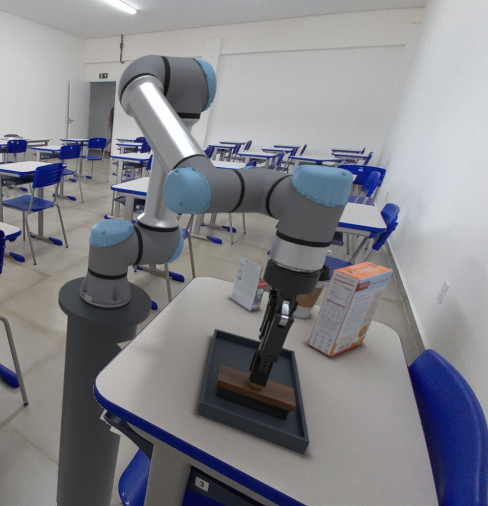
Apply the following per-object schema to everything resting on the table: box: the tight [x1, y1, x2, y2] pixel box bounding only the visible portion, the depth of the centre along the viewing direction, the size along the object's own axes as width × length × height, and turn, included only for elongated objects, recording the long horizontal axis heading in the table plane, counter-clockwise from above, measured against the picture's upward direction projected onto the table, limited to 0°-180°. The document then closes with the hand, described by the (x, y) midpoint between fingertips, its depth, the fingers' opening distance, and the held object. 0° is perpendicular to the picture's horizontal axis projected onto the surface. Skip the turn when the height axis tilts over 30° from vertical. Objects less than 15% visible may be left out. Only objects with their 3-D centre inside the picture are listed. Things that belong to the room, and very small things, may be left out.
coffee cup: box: [292, 264, 331, 319], centre depth 99 cm, size 8×8×15 cm
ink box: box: [230, 254, 267, 312], centre depth 103 cm, size 4×8×15 cm, turn 21°
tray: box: [197, 328, 310, 455], centre depth 73 cm, size 27×17×3 cm, turn 153°
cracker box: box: [307, 261, 394, 358], centre depth 85 cm, size 14×6×21 cm, turn 115°
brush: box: [216, 336, 296, 420], centre depth 66 cm, size 5×13×14 cm, turn 63°
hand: (257, 377), depth 66 cm, fingers closed on brush, 3 cm apart
